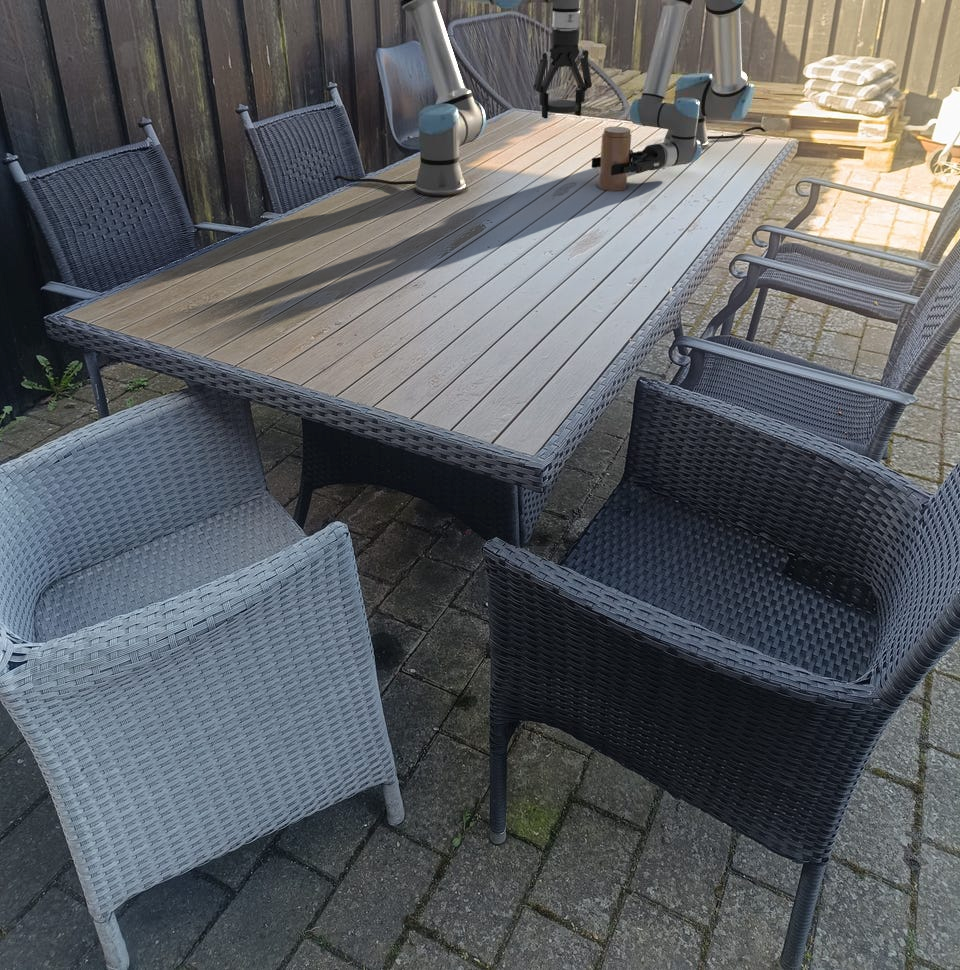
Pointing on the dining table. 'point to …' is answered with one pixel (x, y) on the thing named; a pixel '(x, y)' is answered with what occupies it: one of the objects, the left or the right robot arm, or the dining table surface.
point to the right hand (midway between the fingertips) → (602, 166)
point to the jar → (614, 157)
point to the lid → (563, 106)
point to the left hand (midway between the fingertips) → (561, 116)
